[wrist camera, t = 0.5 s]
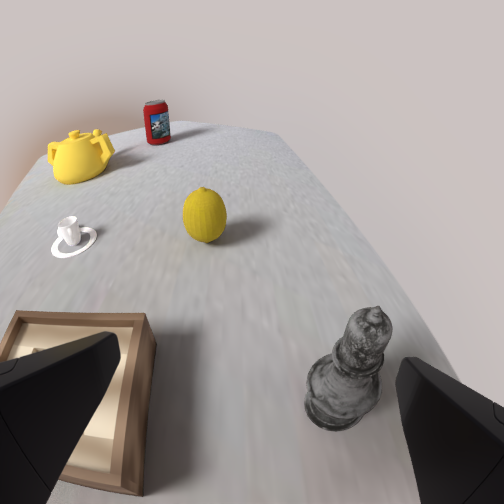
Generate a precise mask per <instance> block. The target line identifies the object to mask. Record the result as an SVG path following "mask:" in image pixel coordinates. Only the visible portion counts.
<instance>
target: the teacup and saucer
mask: <svg viewBox="0 0 504 504" xmlns="http://www.w3.org/2000/svg"><path fill="white" fill-rule="evenodd" d="M58 226H59V228H58V231H57V233H58V235H59V236H60V237H59V238H58V239H57V240H56V241H55V242H54V243H53V245H52V248H51V251H52V254H53V255H54V256H56V257H59V258H68V257H72V256H75V255H78V254H80V253H82V252H84V251H85V250H87V249H88V248H89V247H90V246H91V245H92V244H93V243H94V242H95V240H96V238H97V233H96V231H95V230H94V229H92V228H88V227H81V228H79V225H78V221H77V218H76V217H75V216H70V217H67V218H64V219H63V220H61V221H60V222H59V224H58ZM80 232H87V233H89V234H90V237H91V238H90V241H89V242H88V244H87V245H86V246H84V247H83V248H82V249H80V250H78V251H76V252H73V253H68V254H64V253H61V252H59V251H58V245H59V243H60V242H61V240H63V239H64V240H65V241H66V243H67V244H68V245H69V246H74V245H77V244H78V243H79V242H80V240H81V234H80Z"/></svg>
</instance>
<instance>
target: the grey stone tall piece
mask: <svg viewBox="0 0 504 504" xmlns="http://www.w3.org/2000/svg"><path fill="white" fill-rule="evenodd" d="M392 330H393V329H392V323H391V321H390V319H389V317H388V316H387V315H386V314H385V313H384V312H383V311H382V310H381V308H380V306H376V307H373V308H371V307H369V308H363V309H360V310H358V311H356V312H355V313H354V314H353V315H352V316H351V317H350V319H349V321H348V324H347V327H346V330H345V333H344V336H343V337H342V338H340V339H339V340H338V341H337V342H336V343H335V345H334V347H333V351H332V354H329V355H326V356H324V357H322V358H321V359H319V360H318V361H317V362H316V363H315V364H314V365H313V366H312V367H311V369H310V371H309V373H308V377H307V391H308V392H307V394H306V396H305V401H304V404H305V410H306V413H307V415H308V417H309V418H310V419H311V421H312V422H313V423H314V424H316V425H317V426H318V427H320V428H323V429H325V430H329V431H342V430H346V429H349V428H351V427H353V426H354V425H355V424H357V423H358V422H359V420H360V419H361V418H362V417H363V415H364V414H366V413H367V412H369V411H370V410H371V409H373V408H374V406H375V405H376V404H377V402H378V401H379V399H380V396H381V393H382V381H381V378H380V375H379V373H378V372H379V370H380V369H381V367H382V365H383V362H384V353H383V352H384V350H385V348H386V346H387V344H388V342H389V340H390V338H391V335H392Z"/></svg>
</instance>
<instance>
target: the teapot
mask: <svg viewBox="0 0 504 504" xmlns="http://www.w3.org/2000/svg"><path fill="white" fill-rule="evenodd" d="M101 133H102V131H101V130H94V131H93V134H91V133H83V134H80V130H75V131H72V132H70V133H69V136H70V137H69V138H67V139H65V140H63V141H62V142H52V143H50V144H48V162H49V163H50V164H51V165H52V166H53V171H54V177H55V178H56V180H58V181H59V182H61V183H63V184H76V183H80V182H83V181H86V180H89V179H91V178H94V177H95V176H97V175H99V174H100V173H102V172H103V171H104V169H105V168H106V166H107V164H108V161H109V159H110V157H111V156H112V155H113V153H114V152H115V150H114V148H113V146H112V144H111V142H110V140H109V137H108V135H107V133H106V134H103V135H101Z"/></svg>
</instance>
